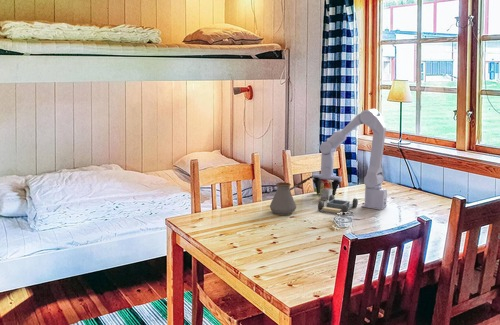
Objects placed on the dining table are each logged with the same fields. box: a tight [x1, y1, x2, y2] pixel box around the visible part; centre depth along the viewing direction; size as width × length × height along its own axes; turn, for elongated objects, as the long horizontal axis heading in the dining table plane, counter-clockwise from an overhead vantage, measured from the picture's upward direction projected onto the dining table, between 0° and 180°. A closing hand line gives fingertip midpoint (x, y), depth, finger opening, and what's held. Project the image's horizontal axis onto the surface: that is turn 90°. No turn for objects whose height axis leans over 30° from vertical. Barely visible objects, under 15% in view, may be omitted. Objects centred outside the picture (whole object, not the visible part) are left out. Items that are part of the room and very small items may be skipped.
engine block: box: [320, 188, 332, 201], centre depth 242 cm, size 4×4×5 cm
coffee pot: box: [269, 175, 315, 216], centre depth 220 cm, size 21×12×15 cm, turn 117°
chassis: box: [317, 195, 359, 215], centre depth 226 cm, size 18×12×4 cm
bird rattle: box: [313, 179, 333, 196], centre depth 252 cm, size 6×11×9 cm
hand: (326, 194), depth 242 cm, fingers open, 7 cm apart
